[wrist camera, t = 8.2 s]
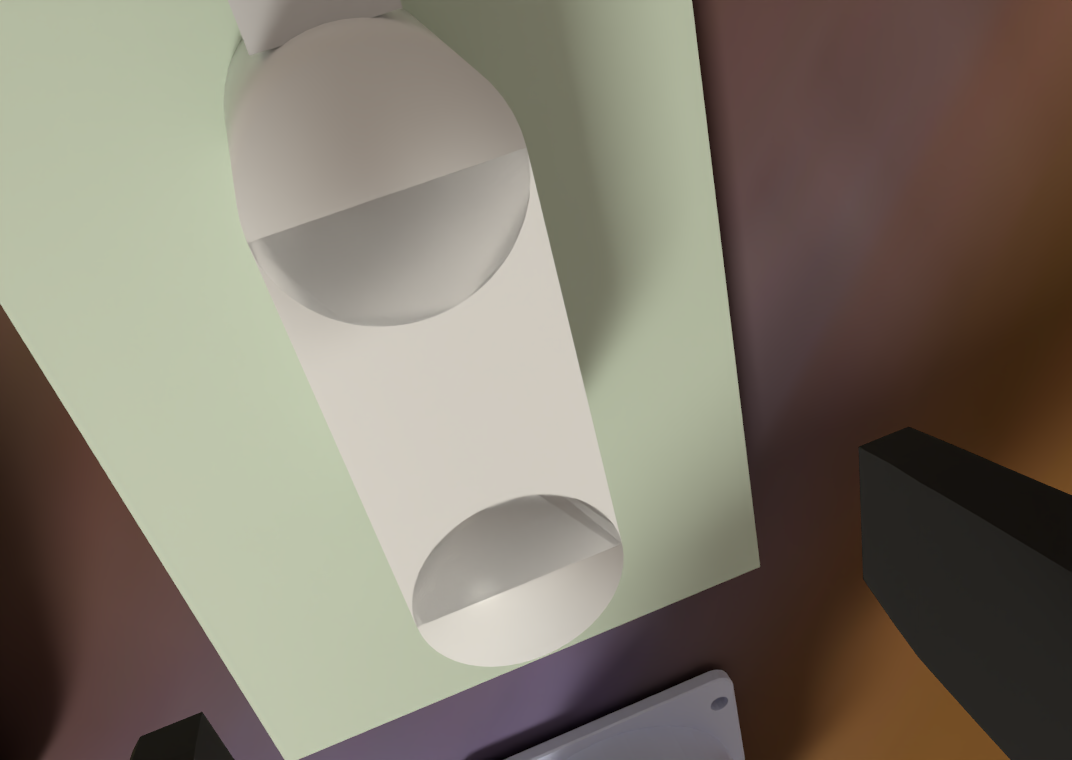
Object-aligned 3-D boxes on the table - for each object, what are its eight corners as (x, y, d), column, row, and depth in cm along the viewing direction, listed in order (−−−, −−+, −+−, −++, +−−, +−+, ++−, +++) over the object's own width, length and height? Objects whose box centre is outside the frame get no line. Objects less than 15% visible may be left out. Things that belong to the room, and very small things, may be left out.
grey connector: (564, 485, 20) (639, 615, 17) (403, 549, 20) (447, 696, 16) (371, -222, 13) (434, -234, 10) (107, -149, 12) (78, -136, 9)
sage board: (740, 540, 24) (760, 567, 23) (283, 729, 22) (287, 763, 22) (600, -499, 13) (629, -521, 12) (-330, -282, 11) (-370, -291, 10)
